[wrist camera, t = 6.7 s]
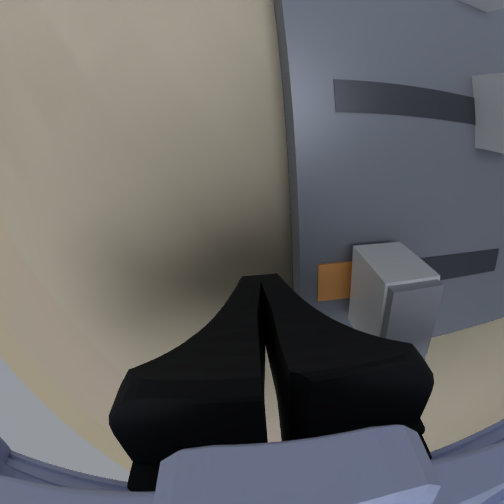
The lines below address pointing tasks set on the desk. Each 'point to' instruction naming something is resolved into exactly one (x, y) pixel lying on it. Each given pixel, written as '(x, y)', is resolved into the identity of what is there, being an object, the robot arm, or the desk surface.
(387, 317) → the block
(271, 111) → the desk surface
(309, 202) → the panel
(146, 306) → the desk surface
